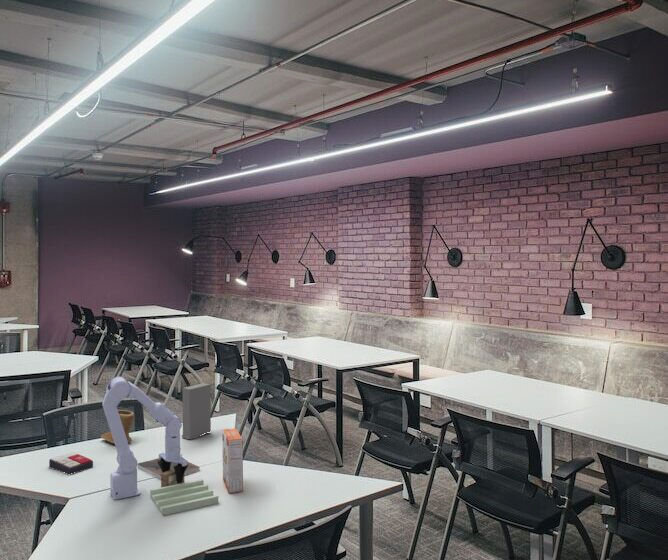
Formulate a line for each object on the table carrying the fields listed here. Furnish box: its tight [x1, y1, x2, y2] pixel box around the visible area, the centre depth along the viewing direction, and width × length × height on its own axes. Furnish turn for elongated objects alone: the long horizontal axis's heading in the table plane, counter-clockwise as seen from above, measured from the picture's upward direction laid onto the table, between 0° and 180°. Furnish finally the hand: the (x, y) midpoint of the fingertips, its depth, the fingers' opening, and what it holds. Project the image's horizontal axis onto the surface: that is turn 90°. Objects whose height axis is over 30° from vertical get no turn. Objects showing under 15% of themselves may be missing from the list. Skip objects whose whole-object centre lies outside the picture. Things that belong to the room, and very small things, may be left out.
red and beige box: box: [48, 451, 94, 475], centre depth 245 cm, size 11×4×15 cm
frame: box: [160, 469, 185, 488], centre depth 227 cm, size 9×3×6 cm, turn 146°
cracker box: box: [221, 428, 244, 494], centre depth 226 cm, size 14×6×21 cm, turn 20°
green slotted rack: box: [149, 479, 219, 516], centre depth 214 cm, size 20×18×2 cm
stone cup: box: [100, 409, 135, 445], centre depth 279 cm, size 15×12×15 cm
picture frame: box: [137, 457, 201, 481], centre depth 244 cm, size 16×2×22 cm
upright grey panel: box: [181, 382, 212, 440], centre depth 288 cm, size 14×6×25 cm, turn 145°
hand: (173, 480), depth 227 cm, fingers open, 7 cm apart
